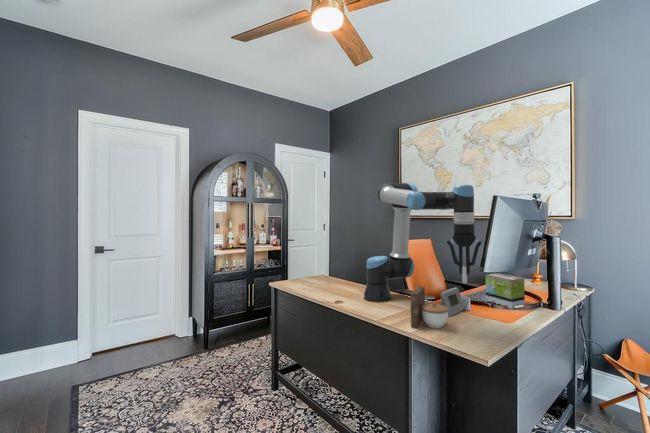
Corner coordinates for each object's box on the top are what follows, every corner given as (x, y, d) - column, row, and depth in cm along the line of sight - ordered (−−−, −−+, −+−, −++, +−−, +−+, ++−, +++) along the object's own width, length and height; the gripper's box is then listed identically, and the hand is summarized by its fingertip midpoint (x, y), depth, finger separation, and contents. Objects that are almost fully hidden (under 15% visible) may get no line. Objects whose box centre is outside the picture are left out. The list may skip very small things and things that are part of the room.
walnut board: (411, 327, 128) (410, 293, 128) (419, 317, 141) (418, 286, 141) (417, 328, 127) (416, 294, 127) (425, 317, 140) (424, 286, 140)
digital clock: (449, 317, 140) (448, 294, 140) (432, 312, 148) (432, 290, 148) (471, 311, 149) (470, 289, 149) (454, 307, 156) (454, 286, 156)
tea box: (484, 302, 164) (484, 274, 164) (498, 299, 168) (497, 272, 168) (511, 309, 151) (511, 279, 151) (525, 307, 154) (525, 277, 155)
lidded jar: (454, 326, 129) (453, 304, 129) (437, 332, 123) (436, 308, 123) (432, 319, 138) (432, 298, 138) (416, 324, 132) (415, 302, 132)
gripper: (445, 223, 125) (446, 282, 125) (481, 223, 118) (482, 285, 118) (448, 223, 131) (448, 279, 131) (482, 223, 125) (483, 282, 125)
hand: (464, 282), depth 125 cm, fingers closed
